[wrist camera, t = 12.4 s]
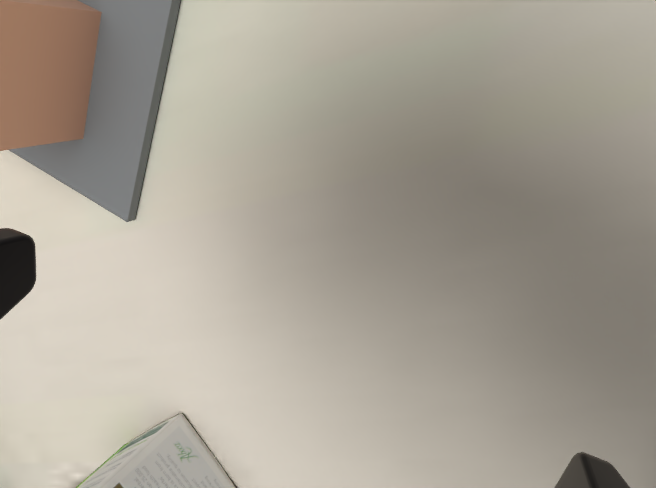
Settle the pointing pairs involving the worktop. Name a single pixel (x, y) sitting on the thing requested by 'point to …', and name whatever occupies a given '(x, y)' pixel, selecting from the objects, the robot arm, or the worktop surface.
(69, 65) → the salmon pink pillar
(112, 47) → the rubber mat
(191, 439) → the syrup box
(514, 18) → the worktop surface
